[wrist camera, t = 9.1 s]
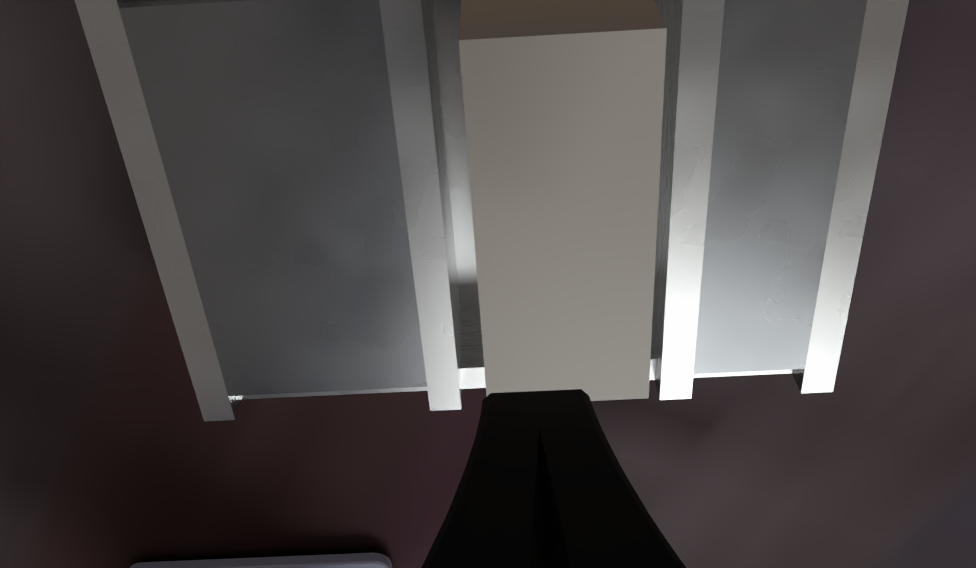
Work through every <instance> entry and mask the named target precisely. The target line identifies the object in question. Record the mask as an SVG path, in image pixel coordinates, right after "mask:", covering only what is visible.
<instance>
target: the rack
mask: <svg viewBox="0 0 976 568" xmlns="http://www.w3.org/2000/svg"><path fill="white" fill-rule="evenodd" d="M653 1H654V3H655V5H656V7H657V9H658V11H659V13H660V15H661V17H662V19H663V21H664V23H665V25H666V27H667V38H666V58H665V78H664V98H663V118H662V138H661V158H660V178H659V198H658V218H657V238H656V258H655V279H654V299H653V319H652V339H651V359H650V379H649V380H655V382H656V387H657V391H658V395H659V399H660V400H671V399H691V398H692V386H693V378H701V377H722V376H743V375H764V374H785V373H792V374H793V376H794V379H795V381H796V383H797V386H798V388H799V390H800V393H820V392H833V389H834V384H835V378H836V373H837V368H838V363H839V358H840V353H841V347H842V342H843V337H844V332H845V327H846V322H847V317H848V311H849V306H850V301H851V296H852V291H853V286H854V281H855V275H856V270H857V265H858V260H859V255H860V250H861V245H862V239H863V234H864V229H865V224H866V219H867V214H868V209H869V203H870V198H871V193H872V188H873V183H874V178H875V172H876V167H877V162H878V157H879V152H880V147H881V142H882V136H883V131H884V126H885V121H886V116H887V111H888V106H889V100H890V95H891V90H892V85H893V80H894V75H895V70H896V64H897V59H898V54H899V49H900V44H901V39H902V34H903V28H904V23H905V18H906V13H907V8H908V3H909V0H653ZM75 3H76V6H77V10H78V13H79V16H80V19H81V23H82V26H83V29H84V32H85V36H86V39H87V42H88V45H89V49H90V52H91V55H92V58H93V62H94V65H95V68H96V71H97V75H98V78H99V81H100V84H101V88H102V91H103V94H104V97H105V101H106V104H107V107H108V110H109V114H110V117H111V120H112V123H113V127H114V130H115V133H116V136H117V140H118V143H119V146H120V149H121V153H122V156H123V159H124V162H125V166H126V169H127V172H128V175H129V179H130V182H131V185H132V188H133V192H134V195H135V198H136V201H137V205H138V208H139V211H140V214H141V218H142V221H143V224H144V227H145V231H146V234H147V237H148V240H149V244H150V247H151V250H152V253H153V257H154V260H155V263H156V266H157V270H158V273H159V276H160V279H161V283H162V286H163V289H164V293H165V296H166V299H167V302H168V306H169V309H170V312H171V315H172V319H173V322H174V325H175V328H176V332H177V335H178V338H179V341H180V345H181V348H182V351H183V354H184V358H185V361H186V364H187V367H188V371H189V374H190V377H191V380H192V384H193V387H194V390H195V393H196V397H197V400H198V403H199V406H200V410H201V413H202V416H203V419H204V421H222V420H235V418H236V415H237V412H238V409H239V406H240V403H241V400H242V399H259V398H280V397H301V396H322V395H343V394H364V393H385V392H406V391H427V390H428V397H429V405H430V411H436V410H457V409H462V389H469V388H486V383H485V370H484V357H483V345H482V332H481V319H480V306H479V293H478V281H477V268H476V255H475V242H474V229H473V217H472V204H471V191H470V178H469V165H468V153H467V140H466V127H465V114H464V101H463V89H462V76H461V63H460V50H459V29H460V14H461V0H75Z"/></svg>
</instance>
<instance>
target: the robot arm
mask: <svg viewBox="0 0 976 568" xmlns="http://www.w3.org/2000/svg"><path fill="white" fill-rule="evenodd" d="M130 568H392V563H391V561H390V559H389V558H388V557H387V556H385V555H383V554H380V553H350V554H327V555H303V556H279V557H256V558H232V559H209V560H185V561H161V562H141V563H135V564H133V565H132V566H130ZM421 568H686V567H685V566H684V564H683V563H682V561H681V560H680V559H679V557H678V556H677V554H676V553H675V552H674V550H673V549H672V547H671V546H670V544H669V543H668V542H667V540H666V539H665V537H664V536H663V534H662V533H661V531H660V530H659V528H658V527H657V525H656V524H655V522H654V521H653V519H652V518H651V516H650V515H649V513H648V512H647V510H646V508H645V507H644V505H643V503H642V502H641V500H640V498H639V497H638V495H637V493H636V492H635V490H634V488H633V487H632V485H631V483H630V482H629V480H628V478H627V477H626V475H625V473H624V471H623V469H622V468H621V466H620V464H619V462H618V460H617V458H616V457H615V455H614V453H613V451H612V449H611V447H610V445H609V443H608V441H607V439H606V437H605V435H604V432H603V430H602V428H601V426H600V424H599V421H598V419H597V417H596V414H595V411H594V409H593V406H592V403H591V400H590V397H589V395H588V394H586V393H585V392H584V391H583V390H582V389H572V390H549V391H526V392H503V393H490V394H489V395H488V396H487V397H486V398H484V399H483V402H482V411H481V416H480V421H479V425H478V430H477V433H476V437H475V440H474V444H473V447H472V450H471V453H470V456H469V459H468V462H467V465H466V468H465V471H464V473H463V476H462V478H461V481H460V483H459V486H458V488H457V491H456V494H455V496H454V499H453V501H452V504H451V506H450V509H449V511H448V513H447V515H446V518H445V520H444V522H443V524H442V526H441V528H440V530H439V532H438V535H437V537H436V539H435V541H434V543H433V545H432V547H431V549H430V551H429V553H428V555H427V557H426V560H425V562H424V564H423V565H422V567H421Z"/></svg>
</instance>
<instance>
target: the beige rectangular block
mask: <svg viewBox="0 0 976 568" xmlns="http://www.w3.org/2000/svg"><path fill="white" fill-rule="evenodd" d="M666 38H667V27H666V25H665V23H664V21H663V19H662V17H661V15H660V13H659V11H658V9H657V7H656V5H655V3H654V1H653V0H461V14H460V29H459V50H460V63H461V76H462V89H463V101H464V114H465V127H466V140H467V153H468V165H469V178H470V191H471V204H472V217H473V229H474V242H475V255H476V268H477V281H478V293H479V306H480V319H481V332H482V345H483V357H484V370H485V383H486V396H488V395H489V394H490V393H503V392H526V391H549V390H572V389H582V390H583V391H584V392H585V393H586V394H588V395H589V397H590V400H591V401H600V400H621V399H643V398H649V379H650V359H651V339H652V319H653V299H654V279H655V258H656V238H657V218H658V198H659V178H660V158H661V138H662V118H663V98H664V78H665V58H666Z"/></svg>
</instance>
